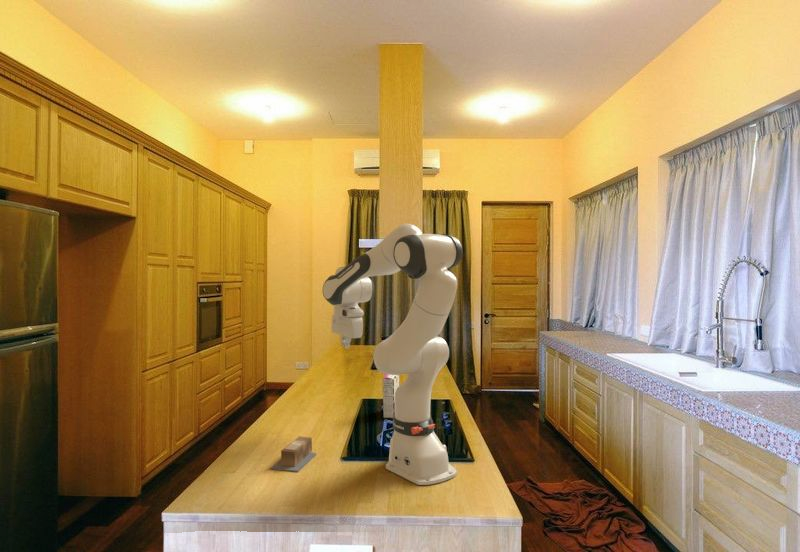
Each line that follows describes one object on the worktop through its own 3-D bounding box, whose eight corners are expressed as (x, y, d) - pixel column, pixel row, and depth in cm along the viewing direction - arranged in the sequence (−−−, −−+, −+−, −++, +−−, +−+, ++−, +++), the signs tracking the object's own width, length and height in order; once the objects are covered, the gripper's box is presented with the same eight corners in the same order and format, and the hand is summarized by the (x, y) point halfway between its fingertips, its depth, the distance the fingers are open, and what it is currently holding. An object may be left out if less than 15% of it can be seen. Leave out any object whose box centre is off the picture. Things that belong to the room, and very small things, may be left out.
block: (311, 451, 146) (294, 466, 134) (299, 449, 147) (281, 465, 135) (311, 437, 146) (294, 451, 134) (299, 435, 147) (281, 449, 135)
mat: (298, 472, 132) (298, 470, 132) (270, 469, 134) (270, 467, 134) (316, 454, 144) (316, 453, 144) (291, 452, 146) (291, 450, 146)
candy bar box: (388, 409, 191) (388, 371, 191) (399, 410, 190) (399, 372, 190) (382, 418, 180) (382, 377, 180) (394, 418, 179) (394, 378, 179)
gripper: (327, 308, 173) (327, 344, 173) (349, 312, 155) (349, 352, 155) (342, 308, 176) (342, 343, 176) (365, 311, 158) (366, 350, 159)
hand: (346, 347), depth 165 cm, fingers closed
